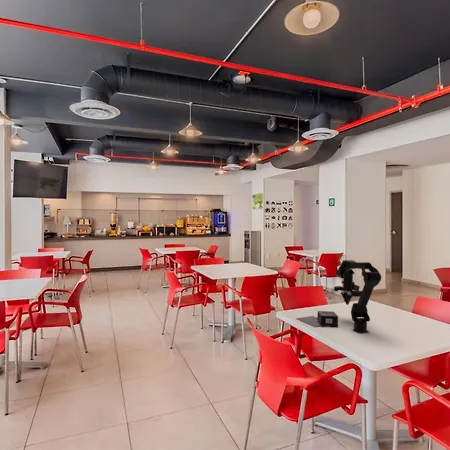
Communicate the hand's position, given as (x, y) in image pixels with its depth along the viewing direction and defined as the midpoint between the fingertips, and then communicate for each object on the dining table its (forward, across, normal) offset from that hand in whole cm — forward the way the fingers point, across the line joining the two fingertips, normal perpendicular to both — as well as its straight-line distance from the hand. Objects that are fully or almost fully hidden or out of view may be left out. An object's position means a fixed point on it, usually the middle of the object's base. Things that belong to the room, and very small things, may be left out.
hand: (347, 304), depth 207 cm
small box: (+8, -1, +16) cm, 18 cm away
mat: (+12, +12, +17) cm, 24 cm away
